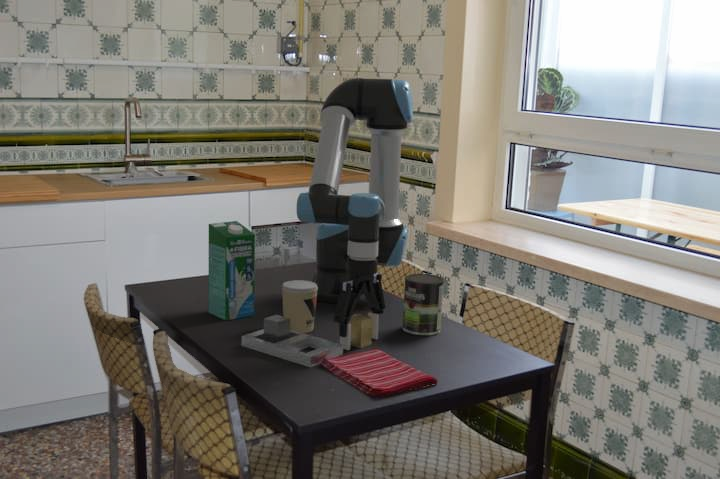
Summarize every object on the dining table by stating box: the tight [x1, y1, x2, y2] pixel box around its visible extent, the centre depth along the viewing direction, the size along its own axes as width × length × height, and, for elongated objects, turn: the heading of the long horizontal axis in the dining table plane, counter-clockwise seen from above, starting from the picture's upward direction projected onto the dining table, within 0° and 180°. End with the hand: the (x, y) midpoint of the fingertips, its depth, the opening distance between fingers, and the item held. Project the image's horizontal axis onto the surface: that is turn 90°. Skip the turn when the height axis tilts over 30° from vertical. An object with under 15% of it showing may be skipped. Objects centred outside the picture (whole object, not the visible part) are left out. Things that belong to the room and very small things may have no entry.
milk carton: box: [208, 220, 256, 322], centre depth 228 cm, size 9×9×25 cm
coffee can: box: [401, 273, 445, 336], centre depth 222 cm, size 10×10×14 cm
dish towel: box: [319, 348, 438, 398], centre depth 189 cm, size 17×24×3 cm
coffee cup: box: [281, 279, 318, 334], centre depth 219 cm, size 9×9×12 cm
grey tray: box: [241, 328, 344, 368], centre depth 203 cm, size 12×22×2 cm, turn 53°
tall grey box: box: [263, 314, 290, 343], centre depth 205 cm, size 4×4×7 cm
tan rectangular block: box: [349, 313, 373, 349], centre depth 209 cm, size 4×4×7 cm
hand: (359, 343), depth 210 cm, fingers open, 11 cm apart
